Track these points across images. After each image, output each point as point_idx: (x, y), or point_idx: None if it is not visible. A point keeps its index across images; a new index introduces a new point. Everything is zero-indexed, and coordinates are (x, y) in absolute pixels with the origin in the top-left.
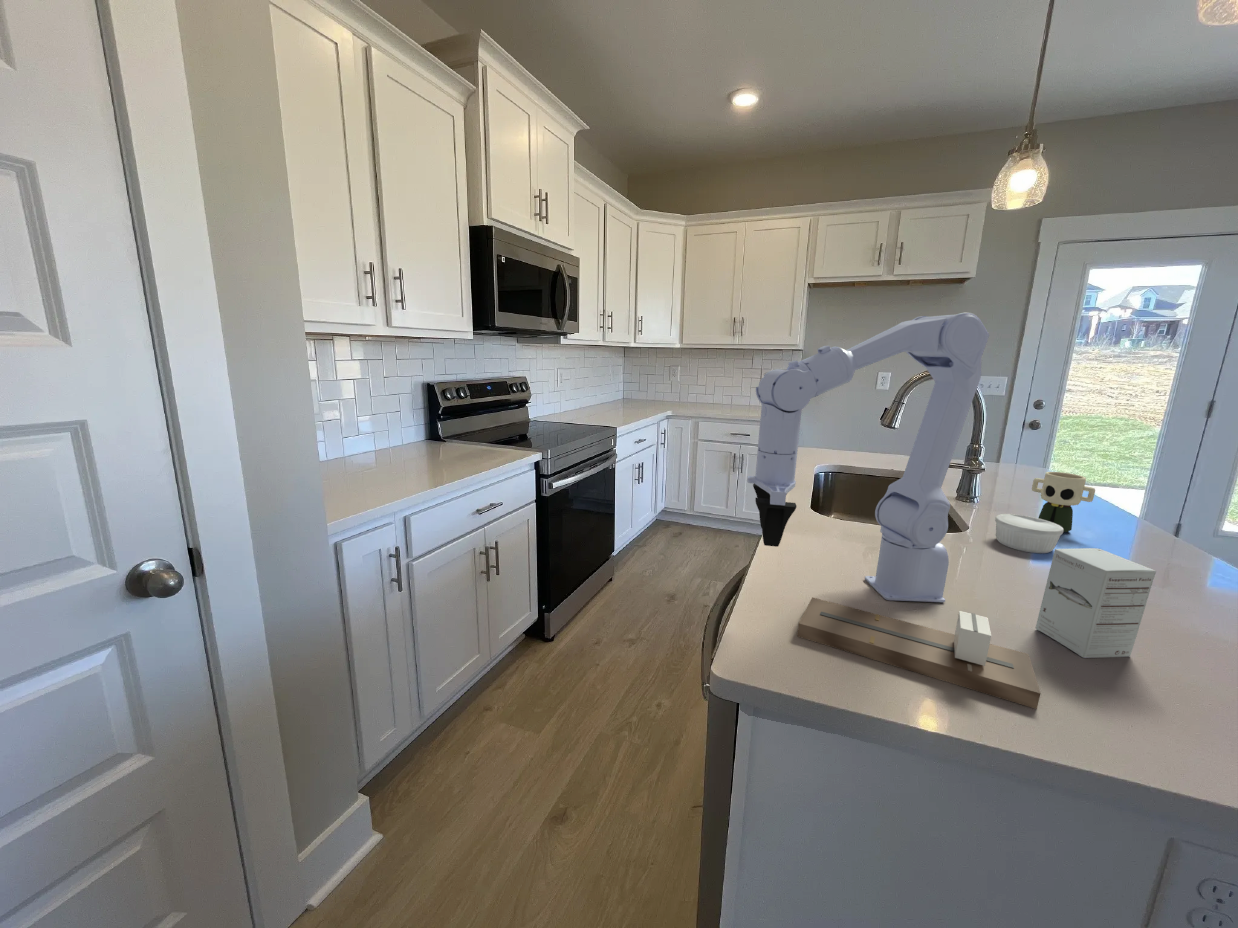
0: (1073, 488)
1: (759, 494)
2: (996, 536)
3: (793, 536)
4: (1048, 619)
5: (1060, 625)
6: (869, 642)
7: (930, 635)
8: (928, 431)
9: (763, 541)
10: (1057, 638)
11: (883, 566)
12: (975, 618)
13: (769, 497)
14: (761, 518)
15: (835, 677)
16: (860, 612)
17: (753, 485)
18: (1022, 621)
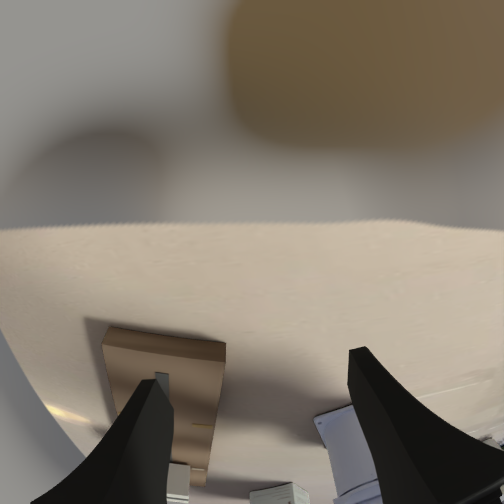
0: (501, 487)
1: (415, 478)
2: (489, 441)
3: None
4: (283, 498)
5: (271, 501)
6: (118, 412)
7: (189, 453)
8: None
9: (137, 388)
10: (271, 490)
11: (353, 445)
12: (175, 499)
13: (396, 488)
14: (76, 468)
15: (52, 361)
16: (207, 413)
17: (468, 497)
18: (306, 478)
